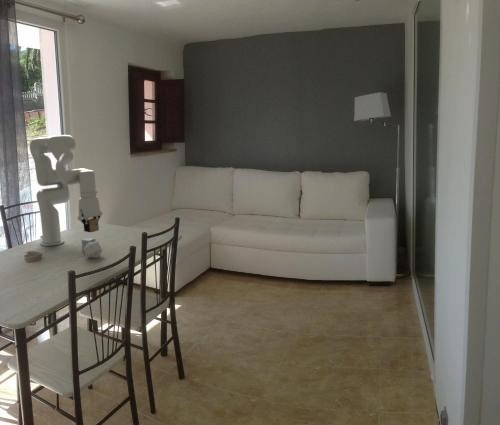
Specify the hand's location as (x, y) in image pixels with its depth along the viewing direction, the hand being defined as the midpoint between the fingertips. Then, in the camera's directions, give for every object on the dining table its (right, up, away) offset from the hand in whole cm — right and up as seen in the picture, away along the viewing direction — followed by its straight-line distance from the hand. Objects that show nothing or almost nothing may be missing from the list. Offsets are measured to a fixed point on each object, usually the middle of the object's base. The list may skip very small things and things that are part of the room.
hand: (91, 229), depth 243 cm
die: (0, -14, +3) cm, 15 cm away
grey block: (-7, -11, +17) cm, 21 cm away
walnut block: (0, 0, 0) cm, 1 cm away
